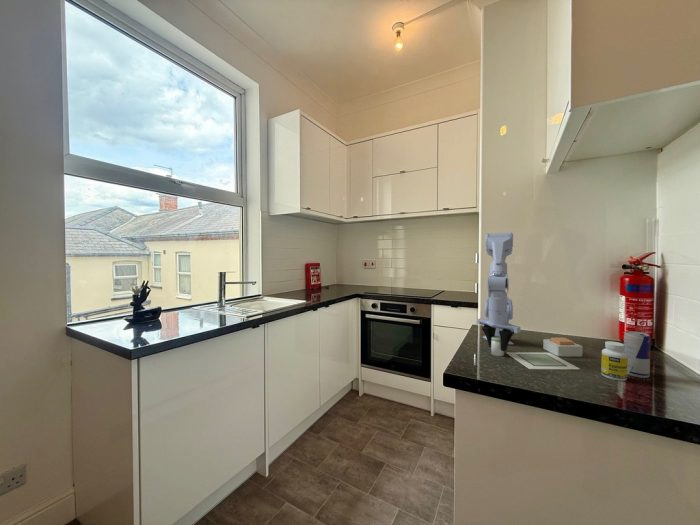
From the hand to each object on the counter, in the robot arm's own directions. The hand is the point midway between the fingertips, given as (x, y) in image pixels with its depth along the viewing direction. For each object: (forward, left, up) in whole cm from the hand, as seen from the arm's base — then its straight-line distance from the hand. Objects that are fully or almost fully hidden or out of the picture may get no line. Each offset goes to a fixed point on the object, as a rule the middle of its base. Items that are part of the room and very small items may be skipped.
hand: (497, 348), depth 99 cm
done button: (-2, +24, 0) cm, 24 cm away
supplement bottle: (+18, +24, -2) cm, 30 cm away
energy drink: (+16, +32, -2) cm, 36 cm away
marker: (0, 0, -2) cm, 2 cm away
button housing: (-2, +24, -2) cm, 24 cm away
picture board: (+6, +11, -2) cm, 13 cm away
